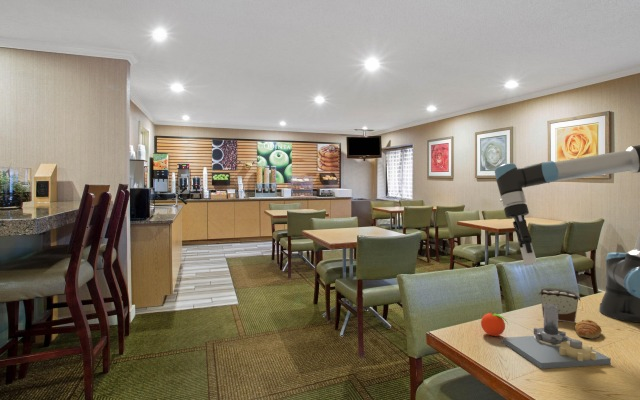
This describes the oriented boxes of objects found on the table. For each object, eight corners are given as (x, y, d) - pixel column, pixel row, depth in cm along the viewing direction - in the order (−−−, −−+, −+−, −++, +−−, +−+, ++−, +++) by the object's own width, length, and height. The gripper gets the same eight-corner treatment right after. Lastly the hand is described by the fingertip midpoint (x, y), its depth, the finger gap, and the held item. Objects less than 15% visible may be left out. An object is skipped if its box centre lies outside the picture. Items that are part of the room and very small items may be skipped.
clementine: (511, 335, 113) (511, 313, 113) (504, 342, 108) (505, 319, 108) (485, 329, 119) (485, 307, 119) (477, 335, 114) (477, 313, 113)
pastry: (599, 342, 108) (599, 330, 108) (572, 336, 113) (572, 324, 113) (601, 333, 115) (602, 321, 115) (576, 328, 120) (576, 316, 120)
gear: (553, 332, 111) (554, 300, 111) (575, 344, 103) (576, 309, 102) (527, 334, 110) (527, 302, 110) (547, 345, 102) (547, 311, 101)
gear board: (560, 337, 111) (561, 322, 111) (612, 365, 94) (613, 346, 94) (501, 341, 109) (501, 325, 109) (543, 370, 92) (543, 350, 92)
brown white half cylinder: (578, 318, 128) (579, 290, 128) (580, 323, 123) (580, 294, 123) (538, 312, 135) (539, 285, 135) (538, 317, 130) (538, 289, 129)
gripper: (502, 213, 143) (516, 266, 137) (504, 200, 121) (520, 264, 115) (523, 209, 140) (538, 264, 134) (529, 196, 118) (547, 260, 112)
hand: (530, 264), depth 124 cm, fingers open, 13 cm apart
